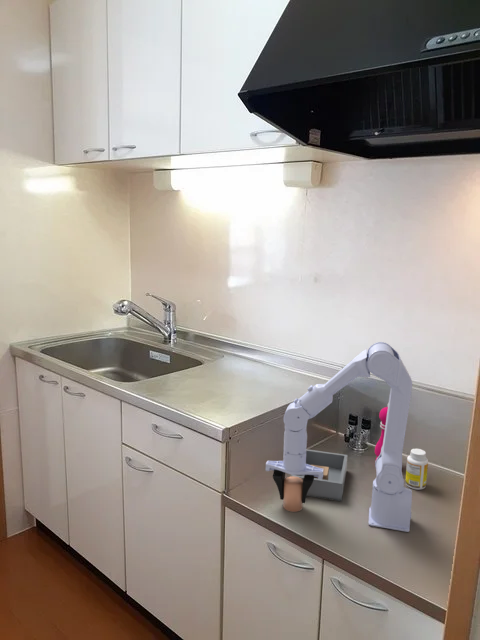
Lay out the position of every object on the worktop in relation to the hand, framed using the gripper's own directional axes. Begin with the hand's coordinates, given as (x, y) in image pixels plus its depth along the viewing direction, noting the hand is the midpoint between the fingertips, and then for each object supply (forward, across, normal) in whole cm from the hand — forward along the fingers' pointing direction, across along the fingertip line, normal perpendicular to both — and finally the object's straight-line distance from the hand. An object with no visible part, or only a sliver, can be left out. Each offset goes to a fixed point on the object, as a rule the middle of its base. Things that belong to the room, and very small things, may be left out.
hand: (293, 499), depth 129 cm
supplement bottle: (+2, -31, -21) cm, 38 cm away
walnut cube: (+1, -5, -11) cm, 12 cm away
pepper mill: (+2, -23, -31) cm, 39 cm away
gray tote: (+2, -5, -15) cm, 16 cm away
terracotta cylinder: (+2, 0, 0) cm, 2 cm away
